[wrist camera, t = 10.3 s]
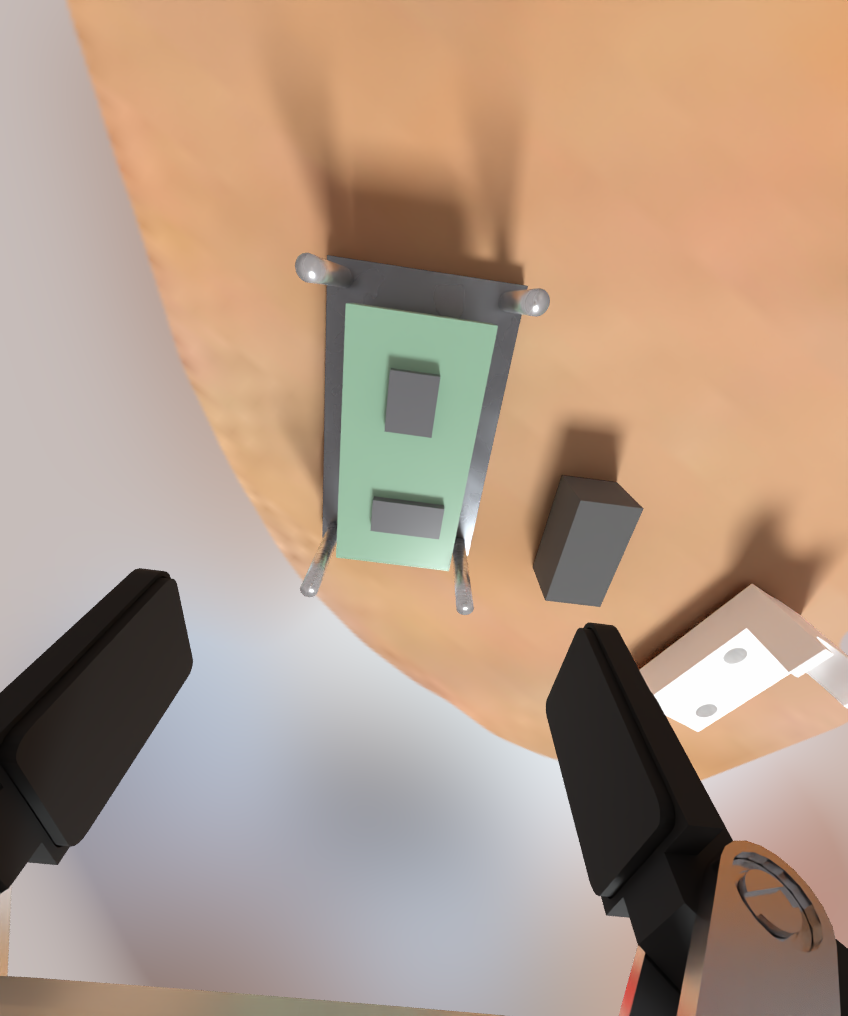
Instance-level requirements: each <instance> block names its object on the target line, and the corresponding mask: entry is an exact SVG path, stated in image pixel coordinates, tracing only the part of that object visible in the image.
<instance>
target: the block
mask: <svg viewBox="0 0 848 1016" xmlns="http://www.w3.org/2000/svg"><path fill="white" fill-rule="evenodd" d="M642 511H643V508H642V507H641V506H640V505H639V504H638V503H637V502H636V501H635V500H634V499H633V498H632V497H631V496H630V495H629V494H628V493H627V492H626V491H625V490H624V489H623V488H622V487H621V486H620V485H619V484H618V483H617V482H610V481H603V480H595V479H588V478H580V477H573V476H565V475H562V477H561V480H560V483H559V486H558V489H557V492H556V495H555V499H554V502H553V505H552V508H551V511H550V514H549V517H548V520H547V524H546V527H545V530H544V533H543V536H542V539H541V542H540V546H539V549H538V552H537V555H536V558H535V561H534V564H533V569H534V572H535V574H536V577H537V580H538V582H539V585H540V588H541V590H542V593H543V596H544V598H545V600H546V601H554V602H563V603H571V604H580V605H588V606H597V607H600V606H601V604H602V601H603V599H604V597H605V595H606V592H607V590H608V588H609V586H610V583H611V581H612V579H613V576H614V574H615V572H616V570H617V567H618V565H619V563H620V561H621V558H622V556H623V554H624V551H625V549H626V547H627V545H628V542H629V540H630V538H631V536H632V533H633V531H634V529H635V526H636V524H637V522H638V520H639V517H640V515H641V513H642Z"/></svg>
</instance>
